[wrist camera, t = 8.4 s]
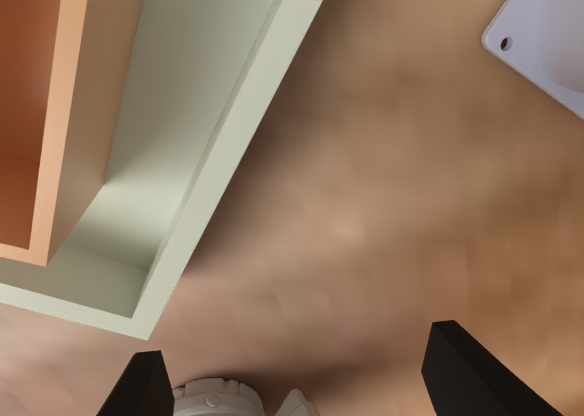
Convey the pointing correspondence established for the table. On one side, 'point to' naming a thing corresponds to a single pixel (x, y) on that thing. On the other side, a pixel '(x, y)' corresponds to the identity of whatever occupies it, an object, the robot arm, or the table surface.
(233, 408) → the mug
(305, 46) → the table surface
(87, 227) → the big crate
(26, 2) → the box
